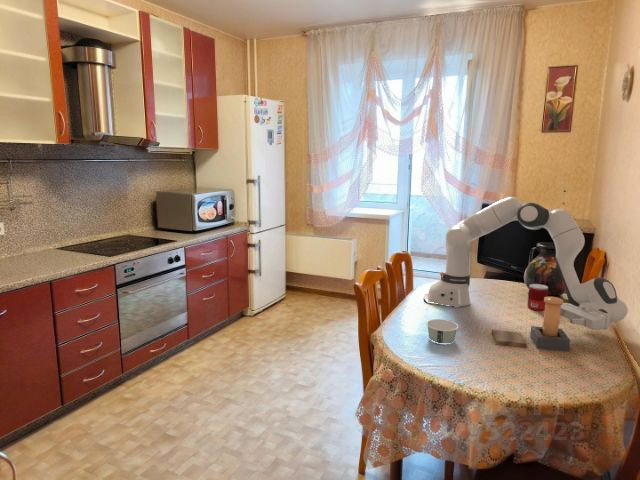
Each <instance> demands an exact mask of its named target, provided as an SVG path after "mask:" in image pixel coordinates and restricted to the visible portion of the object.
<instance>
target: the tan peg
mask: <svg viewBox="0 0 640 480" xmlns="http://www.w3.org/2000/svg"><path fill="white" fill-rule="evenodd" d="M544 302H546V303H545V310H544V313H543V315H544V316H543V322H542V323H543V324H542V327H543V330H542V335H544V336H555V337H557V336H558V329H559V327H560V318H561V317H560V316H561V315H560V310H561V305H562V304H563V303H564V299H561V298H557V297H544Z"/></svg>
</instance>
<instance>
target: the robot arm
mask: <svg viewBox="0 0 640 480" xmlns="http://www.w3.org/2000/svg"><path fill="white" fill-rule="evenodd" d="M513 221H514V222H515V221H517V222H519V224H520V225H521V226H522V227H524V228H526V229H528V230H532V231H538V230H539V231H540V230H541V229H545V230H546V231H547V232H548V234H549V235H550V237H551V239H552V240H553V243H554V244H555V247H556V255H555V258H556V262H557V266H558V268H559V271H560V274H561V277H562V279H563V282H564V285H565V288H566V298H567V300H568V302H563V304H562V305H561V310H560V316H561V317H562V318H565V319H567V320H569V323H570V324H572V325H580V326H584V327H586V328H587V329H590V330H595V331H600V330H609V327H610V324H612V323H617V322H619V321H623V320H624V319H625V318H627V317H626V316H627V315H628V312H629V309H628V306H627V304H626V303H625V302H624V301H623V300H621V299H620V298H619V297H618V295H617V291H616V288H615V286H614V285H613V283H612V282H610V281H609V280H608V279H607V278H604V277H601V276H600V277H599V276H598V277H595V278H592V279H590V280H588V281H585V282H583V283H580V280H579V277H578V275H577V272H576V270H575V267H574V266H575V265H574V263H575V259H576V258H577V256H578V255H579V253H580V252H581V251H582V250H583V248H584V246H585V244H586V243H585V242H586V240H585V236H584V234H583V231H582V230H581V227H580V226H579V225H578V223H577V221H576V220H575V219H574V217H572V215H571V214H570V213H569V211H567V210H566V209H565V208H557V209H553V210H550V211H549V210H548V209H547V208H545V207H544V206H542V205H541V204H539V203H536V202H526V203H524V204H523V203H522V202H521V200H520V199H518V198H517V197H516V196H508V197H505V198H503V199H500V200H498V201H496V202H494V203H492V204H490V205H489V206H486V207H484V208H482V209H481V210H479V211H478V212H475V213H474V214H472V215H469V216H468V217H466V218H463V219H462V220H460V221H458V222H456V223H455V224H453V225H452V226H451V227H450V228H448V230H447V231H446V234H445V253H446V254H445V255H446V262H445V266H446V267H445V272H444V271H441V272H440V274H439V276H440V279H439V280H438V281H437V282H435V283H433V284H432V285H431V286H430V287H429V290H428V293H426V294H424V295H423V300H424V299H428V302H434V303H438V304H443V305H449V306H448V307H450V306H454V307H453V308H457V307H458V308H461V307H464V306H465V307H466V306H469V305H470V304H471V298H470V290H469V289H470V288H469V287H470V284H471V274H470V270H471V269H470V268H471V265H470V264H471V242H473V241H475V240H476V239H479V238H481V237H483V236H486V235H488V234H490V233H491V232H494V231H496V230H498V229H499V228H501V227H503V226H505V225H507V224H509V223H510V222H513ZM443 305H442V306H443ZM460 306H461V307H460Z"/></svg>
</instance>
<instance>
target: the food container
mask: <svg viewBox="0 0 640 480" xmlns="http://www.w3.org/2000/svg"><path fill="white" fill-rule="evenodd" d="M426 326H427V330H428V332H427V333H428V339H429V338H430V339H431V340H433V341H435V342H438V343H452V342H453V341H454V342H455V339H456V334H457V331H458V330H459V325H458V324H457V323H456V322H454V321H451V320H448V319H445V318H444V319H442V318H434V319H430V320H428V321H426ZM454 342H453V343H454Z"/></svg>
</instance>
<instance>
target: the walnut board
mask: <svg viewBox="0 0 640 480" xmlns="http://www.w3.org/2000/svg"><path fill="white" fill-rule="evenodd" d="M491 336H492V339H493V342H494V344H495V345H501V346H511V347H521V348H527V345H528V344H527V341H526V339H525V338H524V337H525V336H524V335H523V334H522V332H520V331H511V330H509V331H508V330H500V329H499V330H498V329H491Z"/></svg>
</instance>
